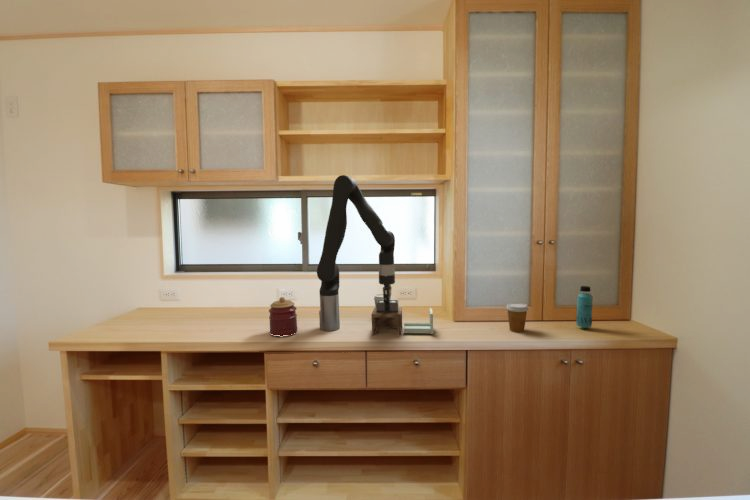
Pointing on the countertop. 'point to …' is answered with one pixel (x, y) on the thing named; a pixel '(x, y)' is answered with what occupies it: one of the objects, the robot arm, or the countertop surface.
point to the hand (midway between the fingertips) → (387, 308)
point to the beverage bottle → (584, 308)
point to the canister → (283, 317)
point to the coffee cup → (378, 298)
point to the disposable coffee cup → (517, 316)
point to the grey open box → (393, 306)
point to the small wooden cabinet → (386, 320)
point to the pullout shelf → (420, 326)
